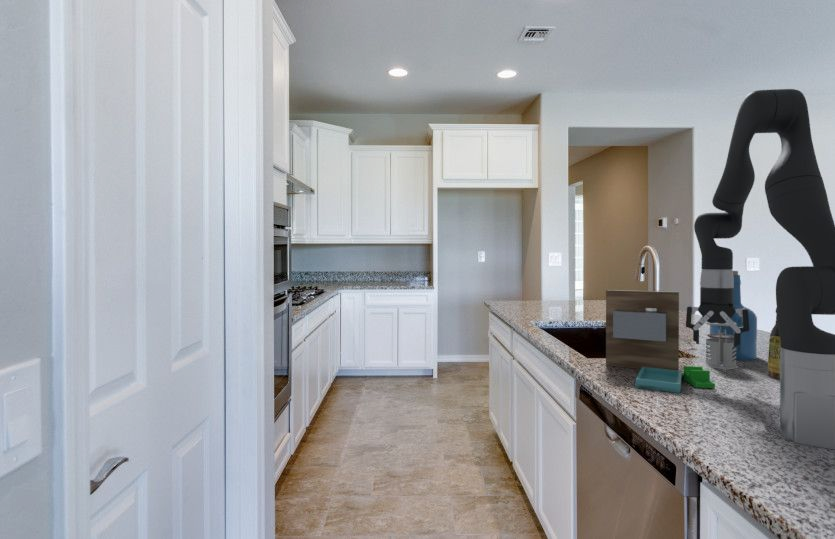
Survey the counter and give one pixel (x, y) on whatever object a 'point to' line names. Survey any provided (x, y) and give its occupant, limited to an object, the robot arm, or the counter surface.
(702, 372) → the pipe clamp
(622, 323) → the control unit
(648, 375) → the tray
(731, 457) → the counter surface
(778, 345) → the sauce bottle
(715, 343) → the french press
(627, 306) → the board
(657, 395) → the counter surface
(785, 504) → the counter surface
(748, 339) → the wine bottle
